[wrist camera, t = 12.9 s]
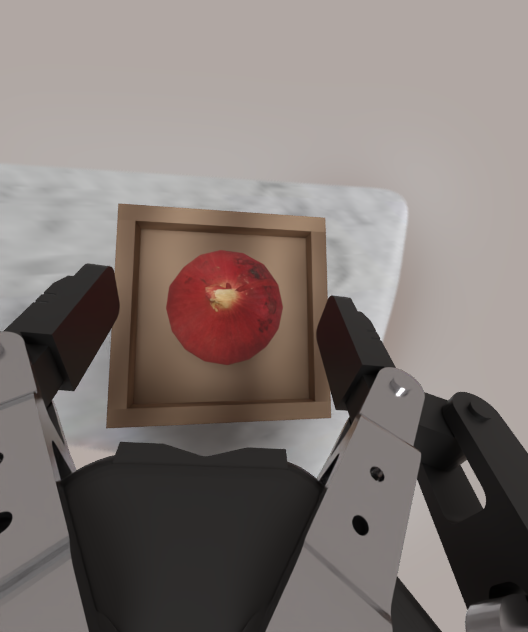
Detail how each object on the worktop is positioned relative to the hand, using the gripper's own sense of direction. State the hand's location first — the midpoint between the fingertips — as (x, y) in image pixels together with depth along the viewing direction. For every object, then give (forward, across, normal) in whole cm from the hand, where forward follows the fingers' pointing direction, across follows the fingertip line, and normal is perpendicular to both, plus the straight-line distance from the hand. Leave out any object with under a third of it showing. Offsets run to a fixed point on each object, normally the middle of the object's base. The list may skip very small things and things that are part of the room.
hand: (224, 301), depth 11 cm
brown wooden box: (+9, 0, +9) cm, 13 cm away
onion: (+6, 0, +5) cm, 8 cm away
